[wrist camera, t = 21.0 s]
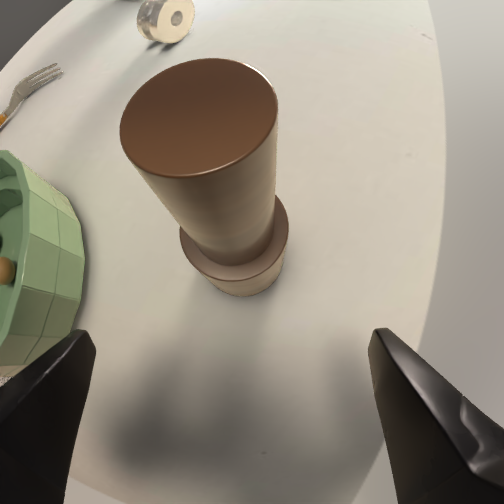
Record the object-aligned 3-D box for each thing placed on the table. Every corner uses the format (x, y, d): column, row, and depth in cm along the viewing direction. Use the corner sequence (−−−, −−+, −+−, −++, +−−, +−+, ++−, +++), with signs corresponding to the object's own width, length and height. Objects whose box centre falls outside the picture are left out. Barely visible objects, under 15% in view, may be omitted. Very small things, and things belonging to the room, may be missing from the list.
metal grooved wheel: (165, 53, 22) (150, 11, 17) (142, 49, 22) (126, 10, 18) (198, 25, 23) (189, -15, 18) (175, 22, 23) (165, -16, 19)
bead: (0, 264, 17) (6, 246, 16) (16, 282, 17) (23, 265, 17) (-16, 276, 15) (-11, 258, 14) (1, 295, 16) (6, 278, 15)
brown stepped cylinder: (289, 288, 16) (339, 186, 5) (209, 302, 16) (85, 233, 5) (274, 213, 18) (281, 32, 6) (199, 226, 18) (105, 70, 6)
